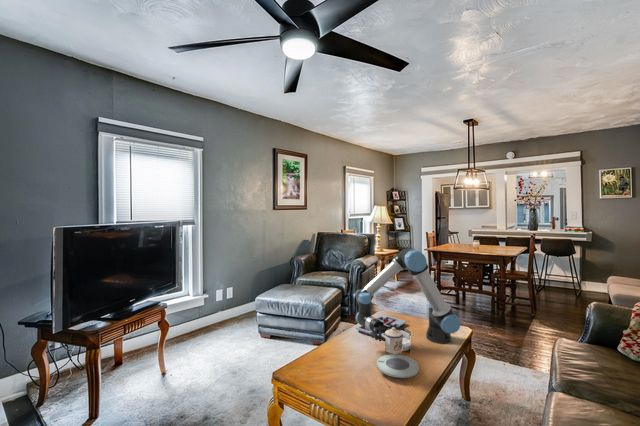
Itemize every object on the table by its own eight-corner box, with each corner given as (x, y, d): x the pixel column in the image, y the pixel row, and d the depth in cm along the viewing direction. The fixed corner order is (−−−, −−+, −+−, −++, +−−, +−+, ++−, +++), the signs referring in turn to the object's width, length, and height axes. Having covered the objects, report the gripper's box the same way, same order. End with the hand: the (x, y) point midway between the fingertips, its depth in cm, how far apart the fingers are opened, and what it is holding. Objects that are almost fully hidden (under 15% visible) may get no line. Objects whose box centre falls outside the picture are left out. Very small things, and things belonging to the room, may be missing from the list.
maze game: (380, 340, 197) (380, 335, 197) (355, 332, 211) (355, 328, 211) (406, 325, 222) (406, 321, 222) (383, 318, 236) (383, 314, 236)
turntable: (419, 360, 166) (419, 357, 166) (418, 381, 146) (418, 377, 146) (379, 354, 173) (379, 351, 173) (374, 373, 153) (374, 370, 153)
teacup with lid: (395, 356, 153) (395, 332, 152) (381, 350, 160) (380, 327, 159) (409, 348, 161) (409, 326, 160) (394, 343, 167) (394, 321, 167)
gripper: (391, 327, 181) (418, 342, 162) (357, 335, 171) (381, 352, 151) (391, 315, 181) (417, 328, 162) (356, 322, 171) (380, 336, 151)
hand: (400, 339), depth 157 cm, fingers closed on teacup with lid, 12 cm apart
